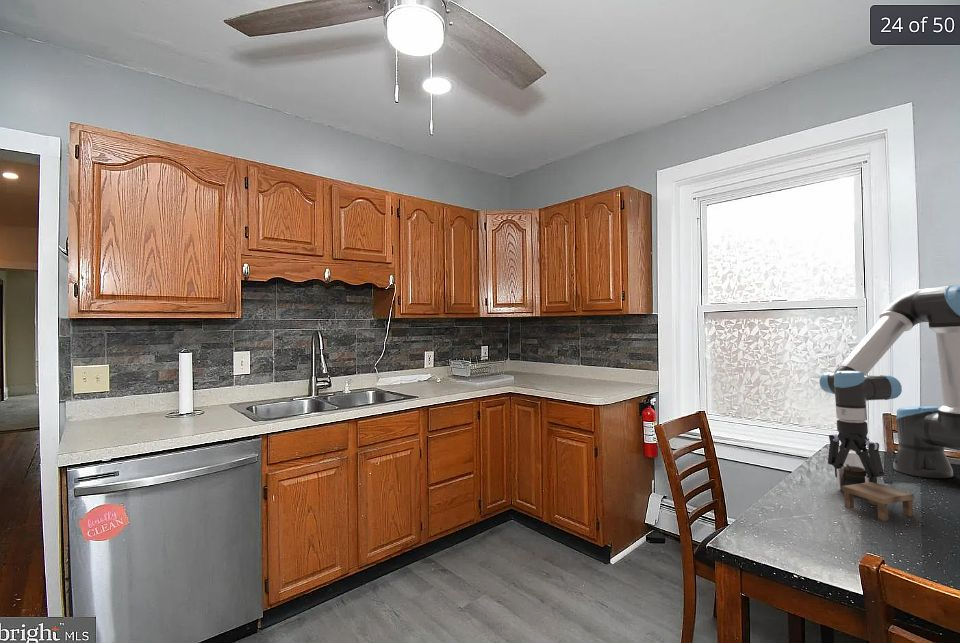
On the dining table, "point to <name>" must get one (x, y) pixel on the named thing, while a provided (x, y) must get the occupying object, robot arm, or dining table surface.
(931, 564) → the dining table surface
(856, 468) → the mate gourd
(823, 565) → the dining table surface
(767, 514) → the dining table surface
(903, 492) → the walnut stool
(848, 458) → the white cup
